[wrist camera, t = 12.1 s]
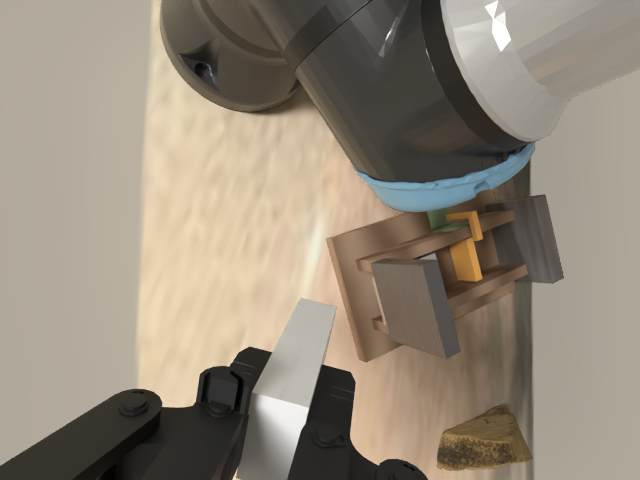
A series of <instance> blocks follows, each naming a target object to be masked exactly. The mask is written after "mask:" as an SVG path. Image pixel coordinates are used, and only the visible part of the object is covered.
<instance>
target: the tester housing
mask: <svg viewBox="0 0 640 480" xmlns="http://www.w3.org/2000/svg"><path fill="white" fill-rule="evenodd" d="M471 211H477V215H478V220H479V224H480V228H481V232H482V236H483V239H481V240H479V241H474V240H473V241H474V245H475V249H476V253H477V258H478V262H479V266H480V270H481V274H482V278H483V279H481V280H479V281H477V282H475V281H464V280H458V279H457V275H456V271H455V267H454V263H453V259H452V255H451V251H450V247H449V245H450V244H453V243H456V242H458V241H461V240H463V239H466V238H469V237H473V235H472V231H471V227H470V223H469V219H468V218H465V219H455V220H446V216H445V215H448V214H455V213H463V212H471ZM326 241H327V245H328V248H329V252H330V255H331V259H332V263H333V266H334V270H335V273H336V277H337V281H338V284H339V288H340V291H341V295H342V299H343V302H344V306H345V309H346V313H347V317H348V320H349V324H350V327H351V331H352V335H353V338H354V342H355V345H356V349H357V353H358V356H359V359H360V360H362V361H364V362H368V361H370V360H372V359H374V358H376V357H378V356H380V355H382V354H385V353H387V352H389V351H391V350H393V349H395V348H397V347H399V346H401V345H403V344H401V343H398V342H396V341H393V340H391V339H390V335H389V331H388V328H387V326H386V325H384V322H383V319H382V315H381V311H380V307H379V304H378V300H377V296H376V293H375V289H374V285H373V281H372V277H374V276H373V273H372V268H371V264H370V263H372V262H375V261H378V260H380V259H383V258H391V259H414V258H417V257H419V256H422V255H424V254H427V253H435V255H436V258H437V260H438V264H439V268H440V272H441V276H442V280H443V284H444V288H445V292H446V296H447V300H448V303H449V307H450V311H451V315H452V319H453V320H455V319H457V318H459V317H461V316H463V315H465V314H467V313H469V312H471V311H473V310H475V309H477V308H479V307H481V306H484V305H486V304H488V303H490V302H492V301H494V300H496V299H498V298H500V297H502V296H504V295H506V294H508V293H510V292H512V291H514V290H517V288H516V284H515V281H525V282H538V283H552V284H553V283H555V282H557V281H559V280H561V279H563V278H564V276H563V271H562V267H561V263H560V258H559V254H558V249H557V245H556V240H555V236H554V231H553V227H552V223H551V218H550V213H549V209H548V204H547V200H546V196H545V195H537V196H530V197H523V198H515V199H508V200H501V201H496V199H495V195H494V190H493V189H491V190H482V191H480V192H478V193H477V194H476V197H475V198H473V199H471V200H468V201H465V202H463V203H460V204H457V205H454V206H451V207H447V208H442V209H438V210H433V211H426V212H407V213H404V214H401V215H398V216H395V217H392V218H389V219H386V220H383V221H380V222H377V223H374V224H370V225H367V226H364V227H361V228H358V229H355V230H352V231H349V232H346V233H343V234H340V235H337V236H334V237H330V238H327V239H326Z"/></svg>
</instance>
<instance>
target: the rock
mask: <svg viewBox="0 0 640 480" xmlns="http://www.w3.org/2000/svg"><path fill="white" fill-rule="evenodd" d="M532 459H533V457H532V455H531V452H530V451H529V448H528V446H527V444H526V442H525V440H524V438H523V436H522V434H521V431H520V429H519V427H518V424H517V423H516V419H515V417H514V415H513V414H511V413H510V412H509V411H508V409H506V408H505V409H504V408H503V407H496V408H493V409H491V410H490V411H488V412H486V413H484V414H482V415H480V416H478V417H476V418H474V419H472V420H470V421H466V422H464V423H462V424H459V425H458V426H456V427H454V428H453V429H448V430H447V431H445V432H444V434H443V435H442V438H441V442H440V446H439V449H438V456H437V460H438V465H437V467H438V468H439V469H442V468H444V469H446V470H449V471H459V470H464V469H468V470H469V469H470V470H475V469H494V468H496V467H501V466H503V465H507V464H512V463H519V462H528V461H531V460H532Z"/></svg>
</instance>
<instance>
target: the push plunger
mask: <svg viewBox="0 0 640 480" xmlns="http://www.w3.org/2000/svg"><path fill="white" fill-rule="evenodd" d="M370 264H371V268H372V273H373V276H374V277H372V281H373V285H374V289H375V293H376V296H377V300H378V304H379V307H380V311H381V315H382V319H383V322H384V325H386V326H387V328H388V331H389V335H390V339H391V340H393V341H396V342H398V343H401V344H404V345H407V346H410V347H413V348H416V349H419V350H422V351H425V352H428V353H431V354H434V355H436V356H439V357H442V358H445V359H447V358H449V357H451V356H452V355H454V354H456V353H458V352H460V347H459V343H458V339H457V335H456V331H455V327H454V323H453V319H452V315H451V311H450V307H449V303H448V300H447V296H446V292H445V288H444V284H443V280H442V276H441V272H440V268H439V264H438V260H437V258H436V255H435V253H427V254H424V255H422V256H419V257H417V258H414V259H391V258H383V259H380V260H378V261H375V262H372V263H370Z"/></svg>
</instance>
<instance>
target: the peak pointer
mask: <svg viewBox="0 0 640 480" xmlns="http://www.w3.org/2000/svg"><path fill="white" fill-rule="evenodd" d="M445 216H446V220H455V219H465V218H468V219H469V223H470V227H471V231H472V235H473V237H469V238H466V239H463V240H461V241H458V242H456V243H453V244H450V245H449V247H450V251H451V255H452V259H453V263H454V267H455V271H456V275H457V279H458V280H464V281H475V282H477V281H479V280H481V279H483V278H482V274H481V270H480V266H479V262H478V258H477V253H476V249H475V245H474V241H479V240H481V239H483V236H482V232H481V228H480V224H479V220H478V215H477V211H471V212H463V213H455V214H448V215H445ZM473 240H474V241H473Z"/></svg>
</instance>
